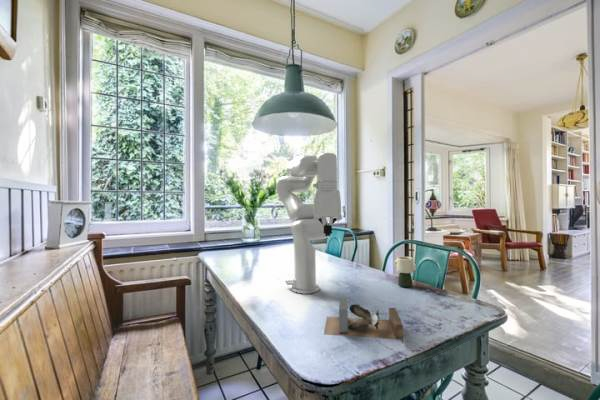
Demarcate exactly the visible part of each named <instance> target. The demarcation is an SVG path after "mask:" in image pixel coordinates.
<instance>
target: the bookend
mask: <svg viewBox="0 0 600 400" xmlns="http://www.w3.org/2000/svg"><path fill="white" fill-rule="evenodd" d="M348 303H349V301H348V297H339V305H338V307H339V308H338V317H339V333H342V334H348V318H349V314H348V313H349V310H348V309H349V307H348V306H349V305H348Z"/></svg>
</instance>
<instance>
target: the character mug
mask: <svg viewBox="0 0 600 400" xmlns="http://www.w3.org/2000/svg"><path fill="white" fill-rule="evenodd" d="M394 267H396V271H397V272H398V273H399V274H398V280H397V284H398V286H400V287H412V286H413V278H412V277H413V276H412V273H413V272H416V270H417V264H416V263H414V258H413V257H411V256H398V257H396V259H395V260H394Z"/></svg>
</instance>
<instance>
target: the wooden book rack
mask: <svg viewBox="0 0 600 400" xmlns="http://www.w3.org/2000/svg"><path fill="white" fill-rule="evenodd" d="M362 320H364V319H363V318H361V317H358V318H356V317H348V326H349V325H351V324H354V323H355V322H358V321H362ZM378 322H379V323H380V324H378V330H377V329H376V327H375V326H374V325H372V324H369V326H368V327H366V328H359V329H357V330H350V329H349V328H348V334H342V333H339V316H338V317H337V316H326V321H325V326H324V332H323V335H329V336H331V335H332V336H342V337H344V336H345V337H358V338H374V339H375V338H376V339H389V340H401V343H402V344H404V324H403V322H402V320H401V317H400V315H399V313H398V310H397V308H396V307H389V308H388V319H378Z"/></svg>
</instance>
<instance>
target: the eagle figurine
mask: <svg viewBox="0 0 600 400" xmlns="http://www.w3.org/2000/svg"><path fill="white" fill-rule="evenodd" d="M348 309H349V311H350V312H351V314H353V315H354V316H355V315H356V316H357V317H358V318H360V319H364V320H362V321H358V322H355V323H354V324H351V325H349V326H348V328H349V329H350V330H357V329H359V328H366V327H368V326H369V324H372V325H374V326H375V327H376V329H377V330H378V324H380V323H379V322H378V320H380V319H381V317H380V316H379V315H380V313H379V312H380V311H379V309H378V310H377V312H375V314H371V312H370V311H369V310H368V309H366V308H364V307H362V306H361V305H360V304H358V303H353V304H351V305H350V306H349V307H348Z"/></svg>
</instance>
